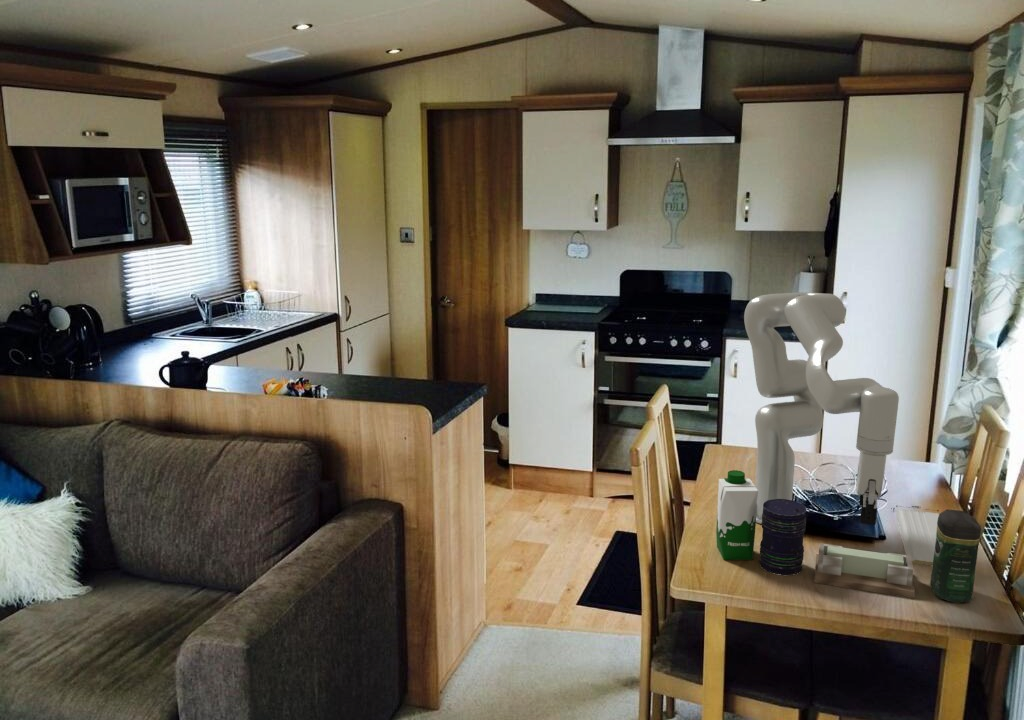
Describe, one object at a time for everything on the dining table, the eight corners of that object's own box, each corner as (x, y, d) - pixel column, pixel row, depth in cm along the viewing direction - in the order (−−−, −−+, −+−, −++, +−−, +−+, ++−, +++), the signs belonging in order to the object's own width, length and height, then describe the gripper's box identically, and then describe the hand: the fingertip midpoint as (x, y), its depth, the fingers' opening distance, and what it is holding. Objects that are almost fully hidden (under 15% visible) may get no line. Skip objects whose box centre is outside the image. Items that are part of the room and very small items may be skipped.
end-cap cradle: (814, 582, 194) (816, 560, 193) (815, 559, 205) (817, 538, 203) (914, 598, 187) (916, 575, 185) (910, 573, 198) (912, 551, 196)
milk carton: (747, 545, 213) (752, 469, 208) (757, 561, 204) (762, 483, 199) (712, 545, 213) (715, 469, 208) (720, 562, 204) (724, 483, 199)
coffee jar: (976, 606, 183) (986, 526, 179) (936, 602, 185) (945, 522, 181) (964, 584, 192) (974, 508, 188) (926, 581, 194) (935, 504, 190)
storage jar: (751, 567, 201) (755, 508, 198) (769, 552, 209) (772, 495, 205) (792, 580, 195) (797, 519, 192) (809, 564, 202) (813, 505, 199)
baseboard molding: (900, 563, 204) (956, 571, 200) (901, 552, 203) (957, 559, 199) (889, 513, 232) (937, 518, 229) (890, 503, 232) (939, 508, 228)
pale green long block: (826, 570, 197) (827, 552, 195) (826, 563, 200) (827, 545, 199) (902, 581, 191) (903, 562, 190) (901, 574, 194) (902, 556, 193)
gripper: (856, 428, 197) (849, 497, 202) (857, 454, 182) (849, 528, 186) (891, 432, 195) (883, 502, 199) (895, 458, 179) (886, 533, 183)
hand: (867, 514), depth 193 cm, fingers open, 9 cm apart
